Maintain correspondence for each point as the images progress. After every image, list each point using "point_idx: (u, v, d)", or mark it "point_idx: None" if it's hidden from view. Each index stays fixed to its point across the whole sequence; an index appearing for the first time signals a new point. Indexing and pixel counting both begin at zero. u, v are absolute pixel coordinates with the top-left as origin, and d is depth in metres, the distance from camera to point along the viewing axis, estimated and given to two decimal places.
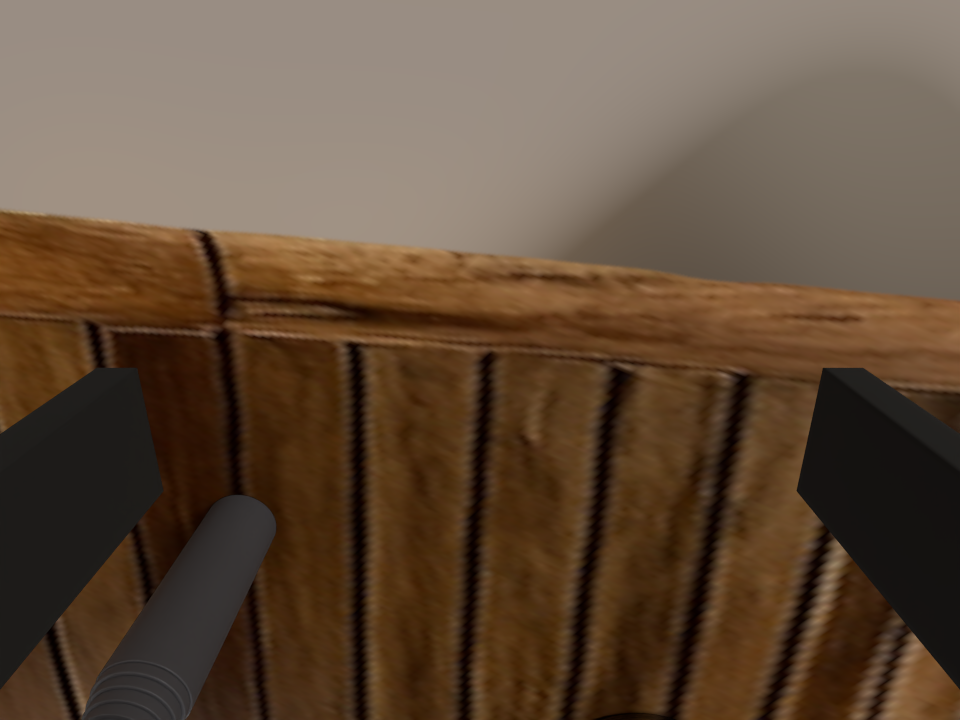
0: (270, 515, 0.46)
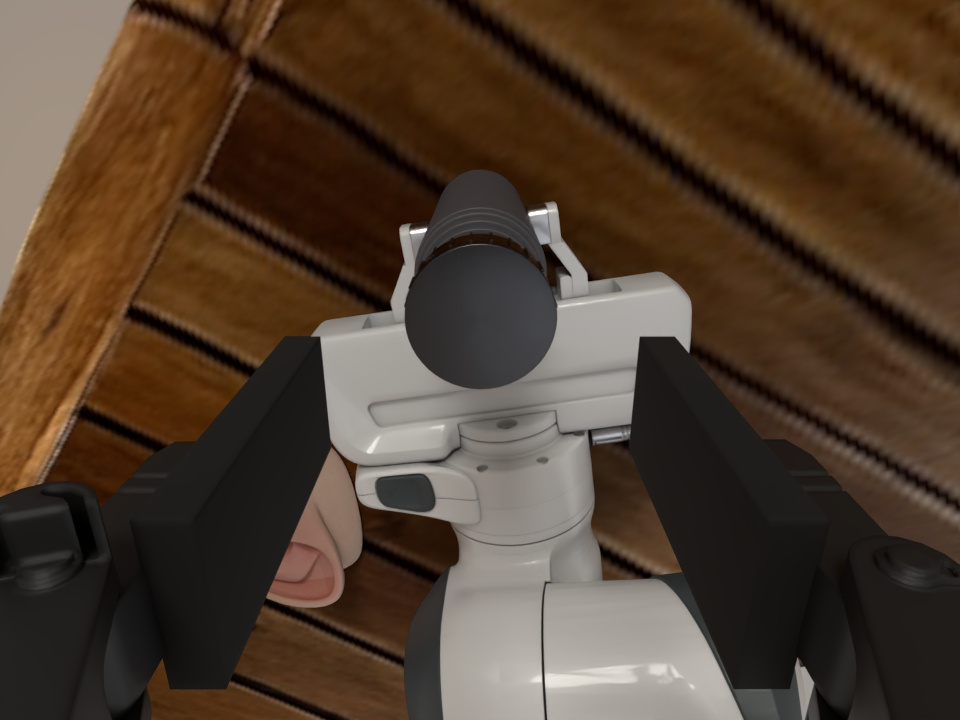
0: (486, 170, 0.37)
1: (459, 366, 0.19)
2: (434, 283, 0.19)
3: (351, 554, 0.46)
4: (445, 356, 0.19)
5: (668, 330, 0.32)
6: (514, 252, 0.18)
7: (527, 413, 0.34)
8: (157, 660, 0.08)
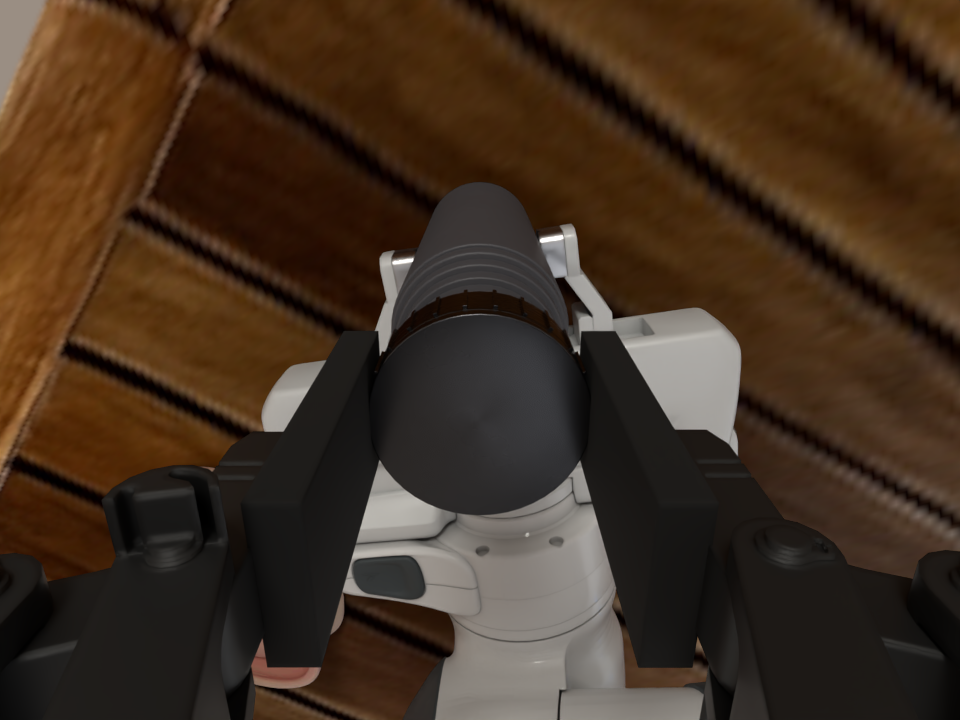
0: (487, 183, 0.30)
1: (448, 484, 0.13)
2: (410, 370, 0.12)
3: None
4: (428, 471, 0.13)
5: (712, 383, 0.26)
6: (530, 326, 0.12)
7: None
8: (260, 638, 0.08)
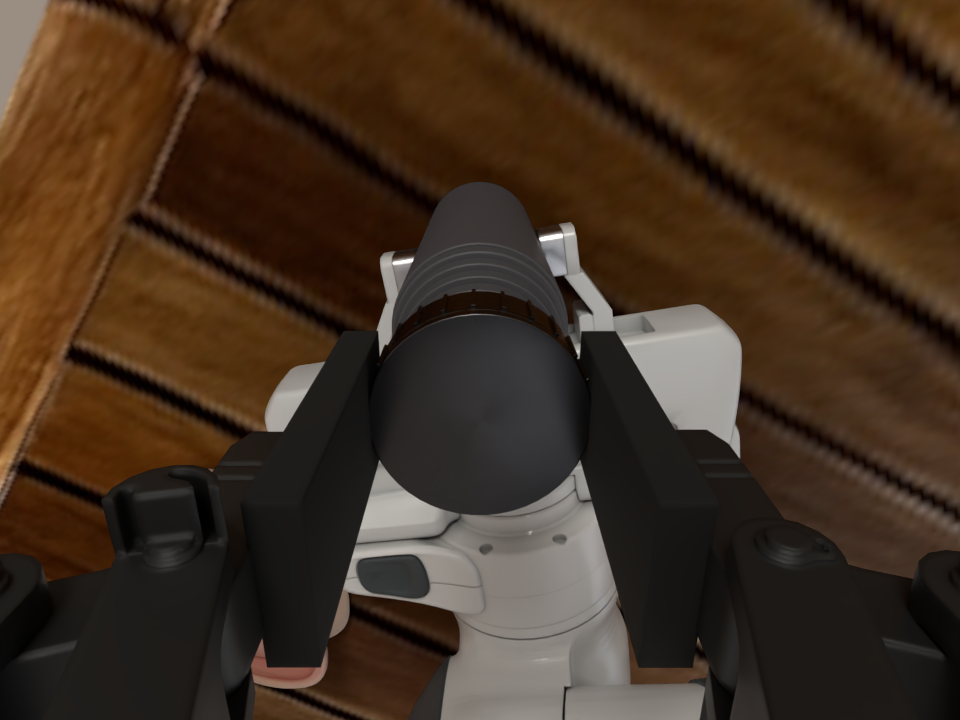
0: (486, 183, 0.31)
1: (558, 399, 0.13)
2: (481, 495, 0.13)
3: (336, 624, 0.40)
4: (558, 423, 0.13)
5: (713, 379, 0.26)
6: (374, 446, 0.13)
7: None
8: (259, 638, 0.08)
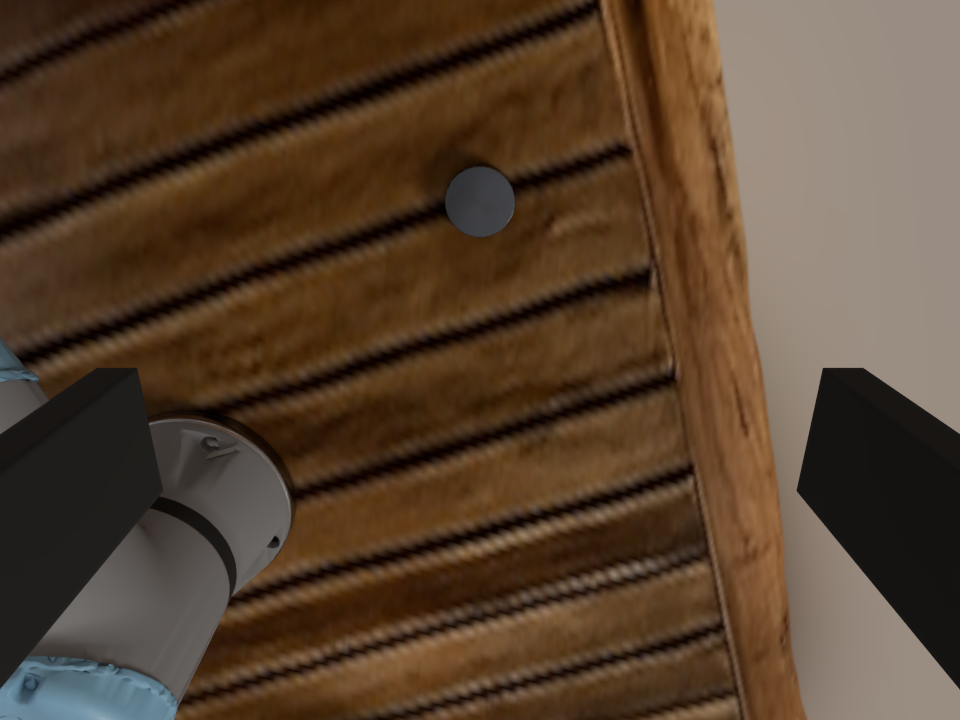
0: None
1: (483, 227, 0.42)
2: (453, 199, 0.42)
3: None
4: (475, 226, 0.42)
5: None
6: (476, 167, 0.41)
7: None
8: None
